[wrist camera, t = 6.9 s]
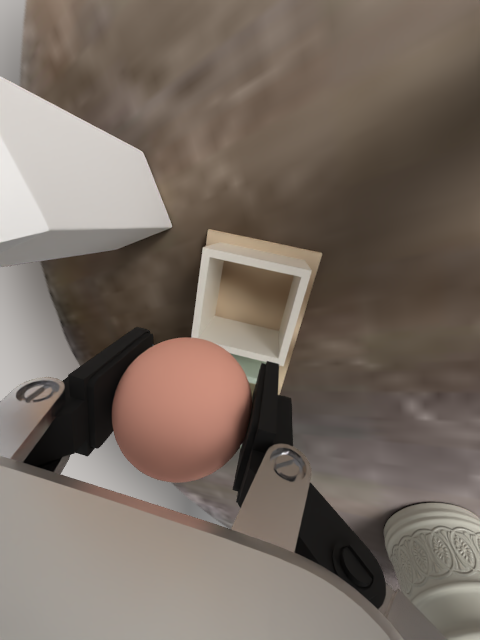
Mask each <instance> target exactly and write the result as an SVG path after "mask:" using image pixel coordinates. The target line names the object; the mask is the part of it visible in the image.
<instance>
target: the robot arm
mask: <svg viewBox="0 0 480 640" xmlns="http://www.w3.org/2000/svg"><path fill="white" fill-rule="evenodd" d="M152 346H153V335H152V334H150V331H149V330H147V329H143V328H139V327H136V328H134V329H133V330H131V331H130V332H129V333H127V334H126V335H124V336H123V337H121V338H120V339H119V340H117V341H116V342H114V343H113V344H112V345H110V346H109V347H107V348H106V349H104V350H103V351H102V352H100V353H99V354H97V355H96V356H95V357H93V358H92V359H90V360H89V361H87V362H86V363H85V364H83V365H82V366H80V367H79V368H78V369H76V370H75V371H73V372H72V373H70V374H69V375H68V377H67V378H66V379H65V380H63V381H61V380H59V379H56V378H51V377H50V378H49V377H48V378H46V377H45V378H37V379H33V380H29V381H26V382H24V383H22V384H20V385H19V386H17V387H16V388H15V389H13V390H12V391H11V392H10V393H9V394H8V395H7V396H6V397H5V398H4V399H2V400H1V401H0V640H448V639H447V638H446V637H445V636H444V635H443V634H442V633H441V632H440V631H439V630H438V629H437V628H436V627H435V626H434V625H433V624H432V623H431V622H430V621H429V620H428V619H427V618H426V617H425V616H424V614H423V613H422V612H421V611H420V610H419V609H418V608H417V607H416V606H415V605H414V604H413V603H412V602H411V601H410V600H409V599H408V598H407V597H406V596H405V595H404V594H403V593H402V592H401V591H400V590H399V589H397V590H396V591H394V590H393V589H392V588H391V587H390V586H389V585H388V584H387V583H386V582H385V579H384V575H383V572H382V570H381V568H380V566H379V564H378V562H377V560H376V558H375V557H374V556H373V554H372V553H371V552H370V550H369V549H368V548H367V547H366V546H365V544H364V543H363V542H362V541H361V540H360V539H359V538H358V536H357V535H356V534H355V533H354V532H353V531H352V530H351V528H350V527H349V526H348V525H347V524H346V523H345V522H344V520H343V519H342V518H341V517H340V516H339V515H338V514H337V512H336V511H335V510H334V509H333V508H332V507H331V506H330V504H329V503H328V502H327V501H326V500H325V499H324V497H323V496H322V495H321V494H320V493H319V492H318V491H317V489H316V488H315V487H314V486H313V485H312V484H311V483H310V480H311V466H310V463H309V461H308V460H307V458H306V456H305V455H304V454H303V453H302V452H301V451H299V450H298V449H296V448H295V447H293V435H292V404H291V398H288V397H285V396H281V395H278V381H279V364H277V363H273V362H269V361H267V362H266V364H264V363H261V366H260V370H259V374H258V377H257V381H256V385H255V389H254V392H253V396H252V410H251V415H250V420H249V424H248V428H247V432H246V435H245V438H244V441H243V442H242V445H241V450H240V455H239V460H238V465H237V470H236V475H235V480H234V486H233V490H235V491H238V496H237V501H236V502H237V503H238V505H239V506H240V511H239V513H238V515H237V517H236V519H235V521H234V524H233V526H232V528H231V529H228V528H225V527H222V526H219V525H216V524H213V523H210V522H207V521H204V520H201V519H198V518H195V517H191V516H188V515H185V514H182V513H179V512H176V511H173V510H170V509H167V508H164V507H161V506H158V505H154V504H151V503H148V502H145V501H142V500H139V499H136V498H133V497H129V496H126V495H123V494H120V493H117V492H114V491H110V490H108V489H104V488H101V487H98V486H95V485H92V484H89V483H86V482H82V481H79V480H76V479H73V478H70V477H67V476H64V475H60V474H61V472H62V470H63V469H64V467H65V465H66V463H67V462H68V460H69V457H70V455H71V454H74V453H79V454H82V455H85V456H89V454H90V453H91V452H92V451H93V450H94V448H99V447H100V446H101V445H102V444H103V443H104V442H105V440H106V439H107V438H108V437H109V436H110V434H111V433H112V432H113V426H112V404H113V399H114V395H115V391H116V388H117V386H118V384H119V381H120V379H121V377H122V376H123V374H124V373H125V371H126V370H127V368H128V367H129V365H130V364H131V363H132V362H133V361H134V360H135V359H136V358H137V357H138V356H139V355H141V354H142V353H143V352H145V351H146V350H147V349H149V348H150V347H152Z"/></svg>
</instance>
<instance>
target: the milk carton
mask: <svg viewBox="0 0 480 640" xmlns="http://www.w3.org/2000/svg"><path fill="white" fill-rule="evenodd" d="M170 228H172V224H171V221H170V219H169V216H168V214H167V211H166V209H165V206H164V203H163V201H162V198H161V196H160V193H159V191H158V188H157V186H156V183H155V181H154V178H153V176H152V173H151V171H150V168H149V165H148V163H147V160H146V158H145V156H144V153H143V152H142V151H140V150H139V149H137V148H135V147H133V146H131V145H129V144H127V143H125V142H123V141H122V140H120V139H118V138H116V137H114V136H112V135H110V134H108V133H106V132H104V131H103V130H101V129H99V128H97V127H95V126H93V125H91V124H89V123H87V122H86V121H84V120H82V119H80V118H78V117H76V116H74V115H72V114H70V113H69V112H67V111H65V110H63V109H61V108H59V107H57V106H55V105H53V104H52V103H50V102H48V101H46V100H44V99H42V98H40V97H38V96H36V95H35V94H33V93H31V92H29V91H27V90H25V89H23V88H21V87H19V86H18V85H16V84H14V83H12V82H10V81H8V80H6V79H4V78H2V77H1V76H0V267H4V266H12V265H18V264H25V263H32V262H38V261H45V260H52V259H58V258H65V257H72V256H78V255H85V254H92V253H98V252H105V251H112V250H117V249H119V248H122V247H124V246H127V245H129V244H132V243H134V242H137V241H139V240H142V239H144V238H147V237H149V236H152V235H154V234H157V233H160V232H162V231H165V230H167V229H170Z"/></svg>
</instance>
